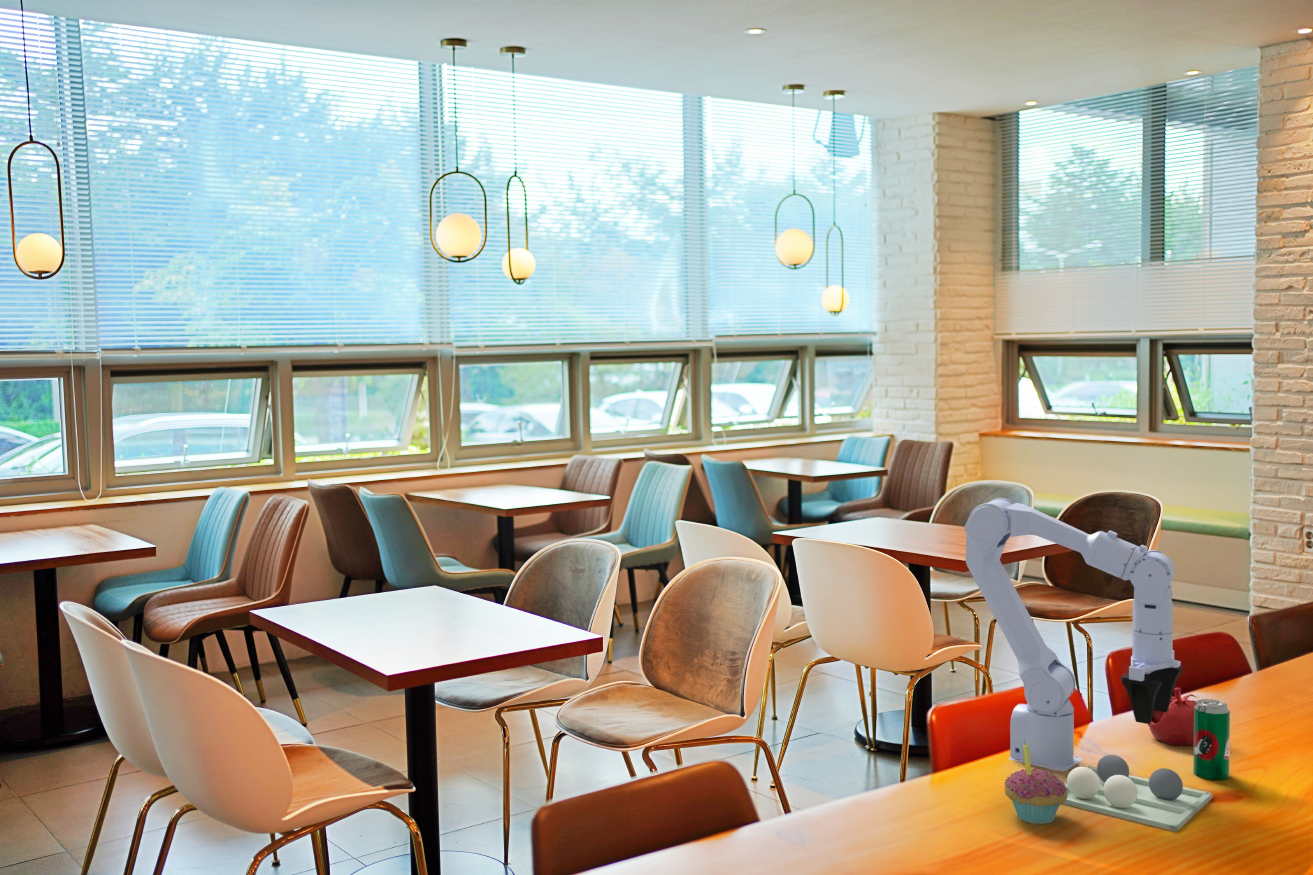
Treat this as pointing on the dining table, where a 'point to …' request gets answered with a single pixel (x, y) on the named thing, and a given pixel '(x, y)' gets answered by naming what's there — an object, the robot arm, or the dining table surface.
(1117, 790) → the cream ball middle
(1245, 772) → the dining table surface
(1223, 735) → the soda can
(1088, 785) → the cream ball left
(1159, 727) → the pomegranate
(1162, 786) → the charcoal ball front
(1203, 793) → the rack
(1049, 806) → the cupcake
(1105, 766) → the charcoal ball back
